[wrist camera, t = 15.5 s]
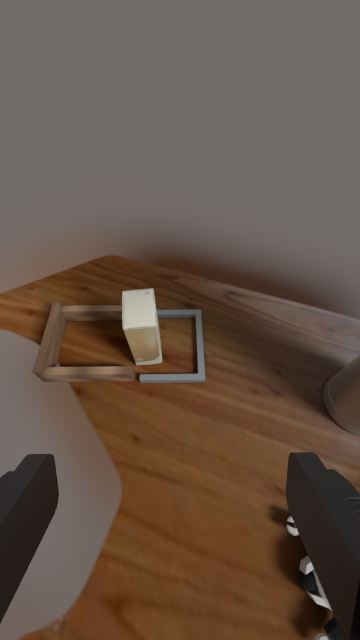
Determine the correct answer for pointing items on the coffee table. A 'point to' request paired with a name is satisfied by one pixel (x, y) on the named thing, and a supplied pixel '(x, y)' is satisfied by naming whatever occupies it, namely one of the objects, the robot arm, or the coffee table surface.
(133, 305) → the skincare box
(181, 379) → the bracket
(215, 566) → the coffee table surface
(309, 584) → the robot toy
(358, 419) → the robot arm
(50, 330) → the frame
